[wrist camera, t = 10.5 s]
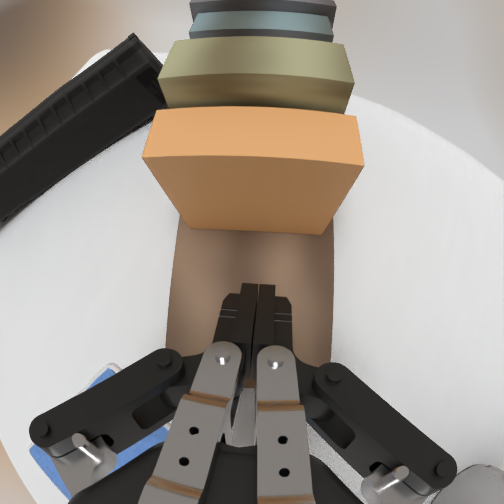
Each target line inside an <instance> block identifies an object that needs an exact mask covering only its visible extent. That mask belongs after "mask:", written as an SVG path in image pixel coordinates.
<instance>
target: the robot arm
mask: <svg viewBox="0 0 504 504" xmlns="http://www.w3.org/2000/svg"><path fill="white" fill-rule="evenodd" d="M275 290H276V285H270V284H260V285H259V294H258V284H254V283H242V286H241V291H240V294H237V293H229V294H228V295H227V296H226V297H225V299H224V300H223V302H222V306H221V310H220V314H219V318H218V322H217V326H216V330H215V334H214V337H213V341H212V344H211V345H209V346H208V347H207V348H206V350H205V351H204V352H202V353H200V354H197V355H192V356H184V357H181V355H180V354H179V353H178V352H177V351H175V350H173V349H169V348H162V349H158V350H156V351H154V352H152V353H150V354H149V355H147V356H145V357H144V358H142V359H140V360H139V361H137V362H135V363H133V364H132V365H130V366H128V367H126V368H125V369H123V370H121V371H120V372H118V373H116V374H114V375H113V376H111V377H109V378H107V379H105V380H104V381H102V382H100V383H98V384H97V385H95V386H93V387H91V388H89V389H88V390H86V391H84V392H82V393H80V394H78V395H77V396H75V397H73V398H71V399H69V400H67V401H66V402H64V403H62V404H60V405H58V406H56V407H54V408H52V409H51V410H49V411H47V412H45V413H43V414H41V415H39V416H37V417H36V418H35V419H34V420H33V421H32V422H31V425H30V428H29V434H30V438H31V440H32V442H33V443H34V444H35V445H37V446H38V447H39V448H40V449H42V450H43V451H44V452H45V453H46V454H47V455H49V456H50V458H51V459H52V461H53V463H54V465H55V467H56V469H57V471H58V473H59V475H60V477H61V479H62V481H63V482H64V484H65V486H66V488H67V489H68V491H69V493H70V495H71V496H72V498H71V499H70V501H69V503H68V504H364V503H363V502H362V501H361V500H360V499H359V498H358V497H357V496H356V495H355V494H354V493H353V492H352V491H351V490H350V489H349V488H348V487H347V486H346V485H345V484H344V483H343V482H342V481H341V480H340V479H339V478H338V477H337V476H336V475H335V474H334V473H333V472H332V471H331V469H330V468H329V467H328V466H327V465H326V464H325V463H323V462H322V461H321V460H319V459H318V458H316V457H314V456H312V455H310V454H309V447H308V437H307V427H306V421H307V423H308V424H309V425H310V426H311V427H312V428H313V429H314V430H315V431H316V432H317V433H318V434H319V435H320V436H321V437H322V438H323V439H324V440H325V441H326V442H327V443H328V444H329V445H330V446H331V447H332V448H333V449H334V450H335V451H336V452H337V453H338V454H339V455H340V456H341V457H342V458H343V459H344V460H345V461H346V462H347V463H348V464H349V465H350V466H351V467H352V468H353V469H355V470H356V471H357V472H358V473H359V474H360V475H361V476H362V477H363V478H364V480H363V481H362V484H361V493H362V495H363V497H364V498H365V499H366V501H367V503H368V504H422V503H423V502H424V501H425V500H426V498H427V497H428V496H429V495H431V494H433V493H435V492H437V491H439V490H441V489H443V490H442V491H441V492H440V493H439V494H438V496H437V497H436V498H435V500H434V501H433V503H432V504H504V471H502V470H499V469H497V468H495V467H493V466H489V467H485V466H483V465H475V466H472V467H470V468H468V469H466V470H465V471H463V472H461V473H460V474H459V475H457V476H456V474H457V464H456V462H455V460H454V458H453V457H452V456H451V455H449V454H448V453H447V452H446V451H444V450H443V449H442V448H441V447H439V446H438V445H437V444H436V443H435V442H433V441H432V440H431V439H430V438H429V437H427V436H426V435H425V434H424V433H422V432H421V431H420V430H419V429H418V428H416V427H415V426H414V425H413V424H412V423H410V422H409V421H408V420H407V419H406V418H405V417H403V416H402V415H401V414H400V413H399V412H397V411H396V410H395V409H394V408H393V407H392V406H390V405H389V404H388V403H387V402H386V401H385V400H383V399H382V398H381V397H380V396H379V395H378V394H376V393H375V392H374V391H373V390H372V389H371V388H369V387H368V386H367V385H366V384H365V383H364V382H363V381H361V380H360V379H359V378H358V377H357V376H356V375H354V374H353V373H352V372H351V371H350V370H349V369H348V368H346V367H345V366H344V365H342V364H339V363H334V362H329V363H325V364H323V365H321V366H320V367H315V366H312V365H308V364H306V363H304V362H302V361H300V360H299V359H298V358H297V357H296V355H295V354H294V351H293V336H292V305H291V303H290V301H289V300H288V298H287V297H281V296H275ZM251 365H252V378H251V379H253V380H256V381H255V397H254V446H249V447H242V448H238V447H234V446H231V444H232V436H233V430H234V426H235V421H236V417H237V413H238V409H239V404H240V400H241V396H242V391H243V387H244V379H250V373H251ZM171 420H173V421H172V424H171V426H170V429H169V432H168V434H167V437H166V440H165V441H163V442H161V443H158V444H156V445H154V446H152V447H150V448H149V449H147V450H146V451H144V452H143V453H141V454H140V455H138V456H137V457H135V458H134V459H132V460H131V461H129V462H128V463H126V464H125V465H123V466H122V467H120V468H118V469H117V470H115V471H114V472H112V473H110V472H111V471H112V470H113V469H114V468H115V466H116V464H117V454H119V453H121V452H122V451H124V450H126V449H127V448H129V447H131V446H132V445H134V444H135V443H137V442H139V441H140V440H142V439H143V438H145V437H147V436H148V435H150V434H151V433H153V432H154V431H156V430H158V429H159V428H161V427H162V426H164V425H165V424H167V423H168V422H170V421H171ZM109 473H110V474H109ZM108 474H109V475H108Z"/></svg>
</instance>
